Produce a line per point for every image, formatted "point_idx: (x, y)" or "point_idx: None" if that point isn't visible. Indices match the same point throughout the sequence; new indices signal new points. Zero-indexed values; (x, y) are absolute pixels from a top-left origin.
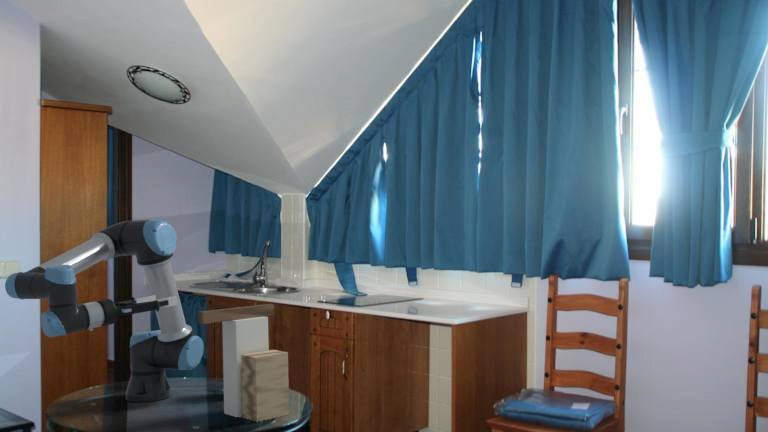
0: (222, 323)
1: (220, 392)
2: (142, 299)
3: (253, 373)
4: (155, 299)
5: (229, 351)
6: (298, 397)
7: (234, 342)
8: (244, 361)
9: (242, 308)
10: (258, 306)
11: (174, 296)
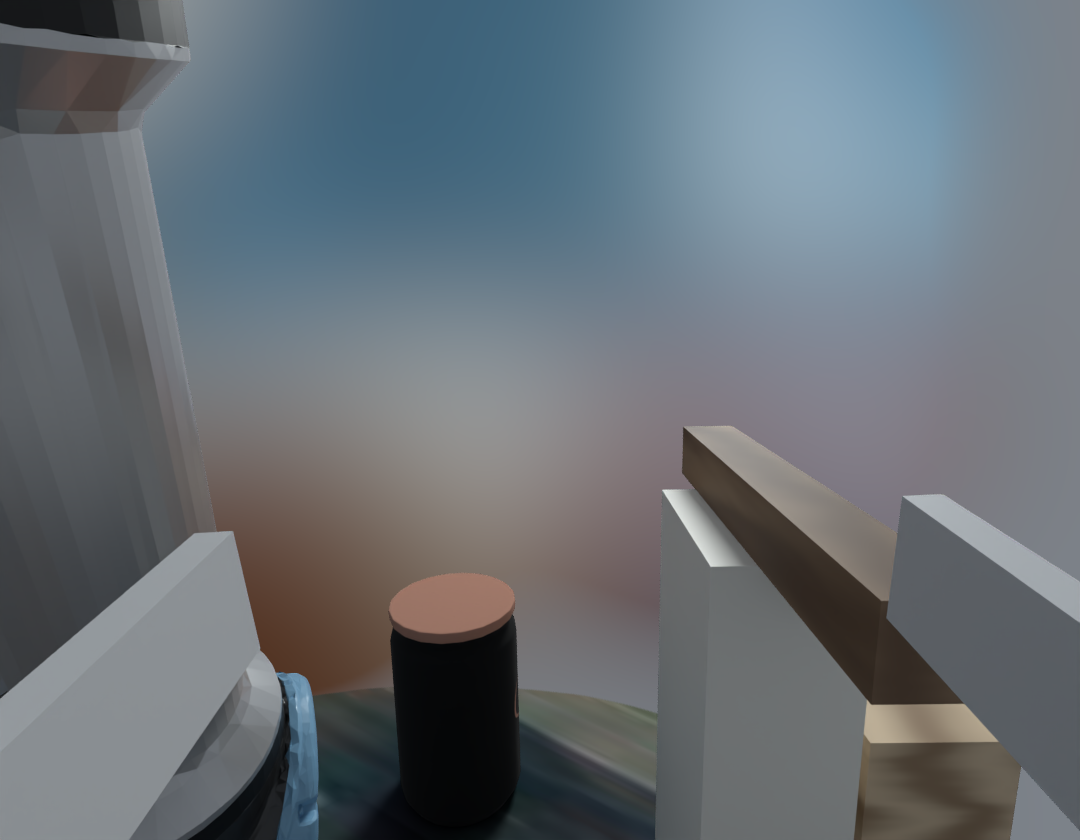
0: (711, 593)
1: (320, 831)
2: (59, 740)
3: (985, 822)
4: (240, 598)
5: (780, 747)
6: (633, 714)
7: (843, 691)
8: (900, 773)
9: (801, 473)
10: (761, 445)
11: (965, 513)
